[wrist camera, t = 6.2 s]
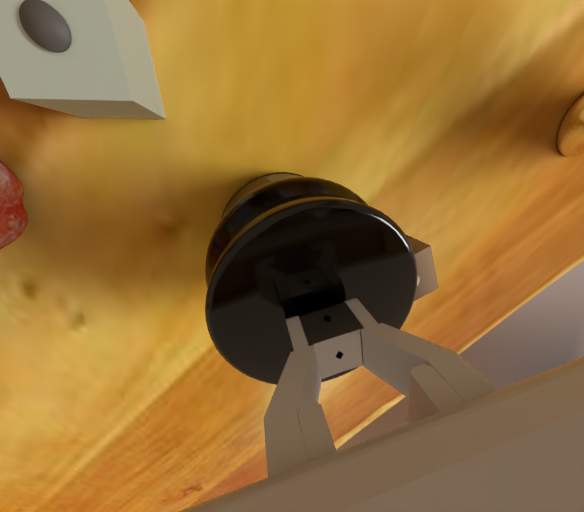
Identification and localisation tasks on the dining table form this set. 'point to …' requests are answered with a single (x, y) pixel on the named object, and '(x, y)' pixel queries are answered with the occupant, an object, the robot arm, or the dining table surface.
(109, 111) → the sage cube
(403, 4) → the dining table surface
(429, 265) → the walnut cube
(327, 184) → the supplement container
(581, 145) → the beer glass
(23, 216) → the pomegranate
